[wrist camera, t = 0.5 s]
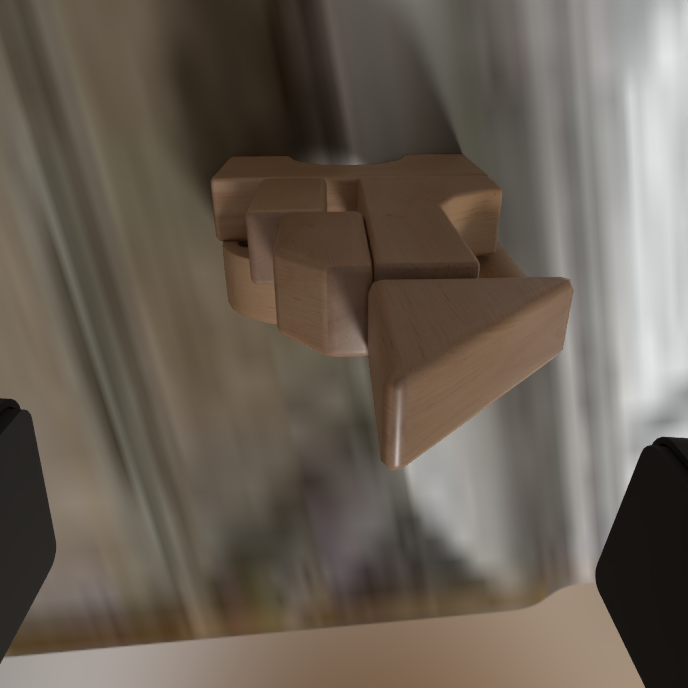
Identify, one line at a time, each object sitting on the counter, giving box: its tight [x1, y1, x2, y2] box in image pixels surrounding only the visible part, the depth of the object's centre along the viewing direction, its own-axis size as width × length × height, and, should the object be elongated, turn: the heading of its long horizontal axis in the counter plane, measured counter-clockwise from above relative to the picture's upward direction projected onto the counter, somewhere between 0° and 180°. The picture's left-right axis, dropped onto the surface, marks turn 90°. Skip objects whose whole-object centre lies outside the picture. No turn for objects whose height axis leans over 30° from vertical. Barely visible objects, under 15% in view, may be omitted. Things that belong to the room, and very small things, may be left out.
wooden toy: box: [210, 154, 573, 471], centre depth 25 cm, size 16×7×25 cm, turn 90°
